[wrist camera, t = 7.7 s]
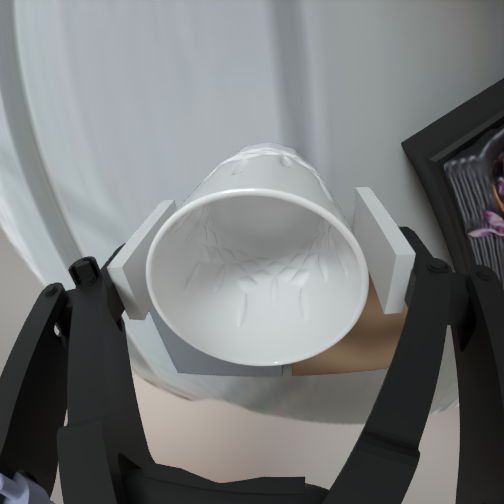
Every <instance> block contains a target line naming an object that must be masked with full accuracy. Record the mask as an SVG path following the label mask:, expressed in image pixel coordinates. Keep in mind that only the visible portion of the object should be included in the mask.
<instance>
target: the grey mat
mask: <svg viewBox="0 0 504 504" xmlns="http://www.w3.org/2000/svg"><path fill="white" fill-rule="evenodd" d="M149 312H150V314H151V316H152V319H153V321H154V323H155V325H156V328H157V330H158V332H159V334H160V336H161V339H162V341H163V343H164V345H165V347H166V349H167V351H168V353H169V355H170V357H171V360H172V362H173V364H174V366H175V368H176V370H177V372H178V373H187V374H201V375H220V376H282V365H277V366H250V365H242V364H236V363H232V362H228V361H224V360H221V359H218V358H215V357H213V356H210V355H208V354H206V353H204V352H202V351H200V350H198V349H196V348H194V347H193V346H191V345H189V344H188V343H187V342H185V341H184V340H182V339H181V338H180V337H179V336H178V335H176V334H175V333H174V332H173V331H172V330H171V329H170V328H169V327H168V326H167V324H166V323H165V322H164V321H163V319H162V318H161V317H160V315H159V314H158V312H157V310H156V308H155V307H154V305H153V304H152V306H151V308H150V310H149Z"/></svg>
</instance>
